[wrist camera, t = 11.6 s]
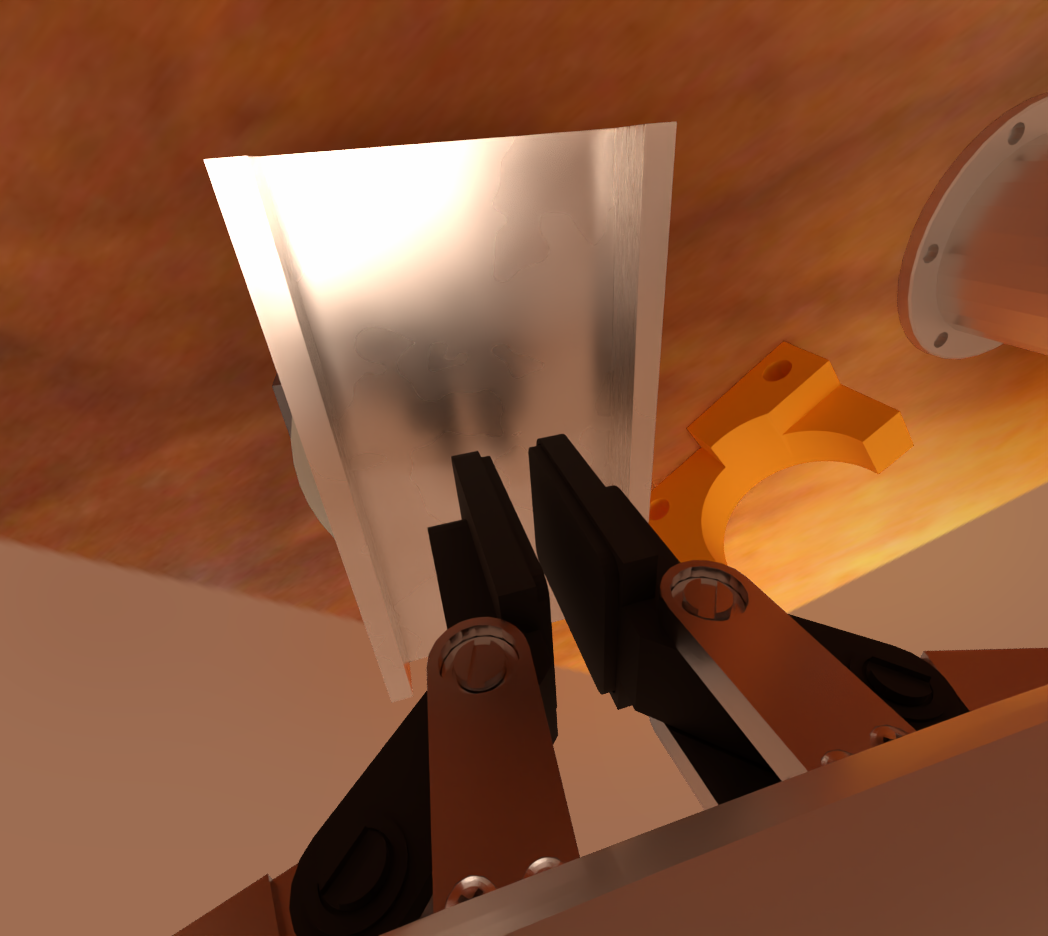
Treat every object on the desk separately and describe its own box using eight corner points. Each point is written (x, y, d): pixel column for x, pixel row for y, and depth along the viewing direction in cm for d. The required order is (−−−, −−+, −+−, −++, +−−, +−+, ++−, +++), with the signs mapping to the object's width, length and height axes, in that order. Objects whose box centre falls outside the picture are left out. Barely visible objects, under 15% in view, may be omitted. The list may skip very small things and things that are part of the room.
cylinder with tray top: (541, 141, 19) (737, 116, 9) (555, 448, 26) (676, 620, 16) (250, 165, 17) (110, 166, 7) (350, 491, 24) (347, 715, 14)
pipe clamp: (780, 340, 26) (889, 385, 21) (809, 392, 29) (913, 445, 23) (607, 495, 28) (666, 573, 23) (647, 533, 31) (709, 611, 25)
